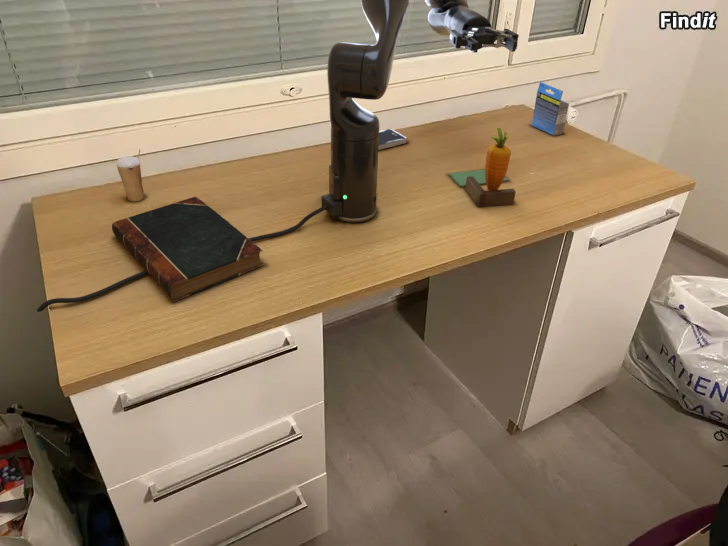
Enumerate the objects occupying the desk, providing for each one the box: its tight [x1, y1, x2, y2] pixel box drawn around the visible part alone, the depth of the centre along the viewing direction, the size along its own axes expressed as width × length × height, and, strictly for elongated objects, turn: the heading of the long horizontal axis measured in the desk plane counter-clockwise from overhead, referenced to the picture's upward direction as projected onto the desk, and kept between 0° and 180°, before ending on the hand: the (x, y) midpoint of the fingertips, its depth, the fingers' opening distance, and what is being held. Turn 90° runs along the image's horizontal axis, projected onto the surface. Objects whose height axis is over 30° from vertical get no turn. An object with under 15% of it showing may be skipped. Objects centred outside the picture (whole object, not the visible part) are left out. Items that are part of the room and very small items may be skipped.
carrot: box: [484, 126, 512, 190], centre depth 124 cm, size 5×5×15 cm
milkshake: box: [115, 149, 145, 202], centre depth 121 cm, size 4×5×10 cm
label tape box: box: [531, 81, 570, 137], centre depth 158 cm, size 9×4×12 cm, turn 30°
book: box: [111, 196, 264, 302], centre depth 106 cm, size 17×4×25 cm
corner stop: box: [464, 176, 517, 208], centre depth 127 cm, size 8×8×3 cm
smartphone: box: [378, 128, 407, 151], centre depth 150 cm, size 8×1×15 cm
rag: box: [448, 168, 509, 188], centre depth 135 cm, size 12×6×1 cm, turn 107°
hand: (495, 47), depth 123 cm, fingers open, 8 cm apart
